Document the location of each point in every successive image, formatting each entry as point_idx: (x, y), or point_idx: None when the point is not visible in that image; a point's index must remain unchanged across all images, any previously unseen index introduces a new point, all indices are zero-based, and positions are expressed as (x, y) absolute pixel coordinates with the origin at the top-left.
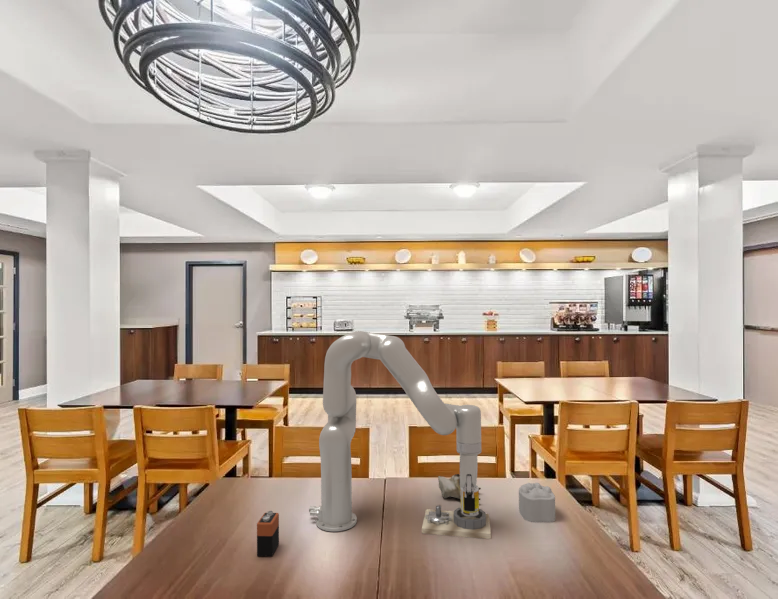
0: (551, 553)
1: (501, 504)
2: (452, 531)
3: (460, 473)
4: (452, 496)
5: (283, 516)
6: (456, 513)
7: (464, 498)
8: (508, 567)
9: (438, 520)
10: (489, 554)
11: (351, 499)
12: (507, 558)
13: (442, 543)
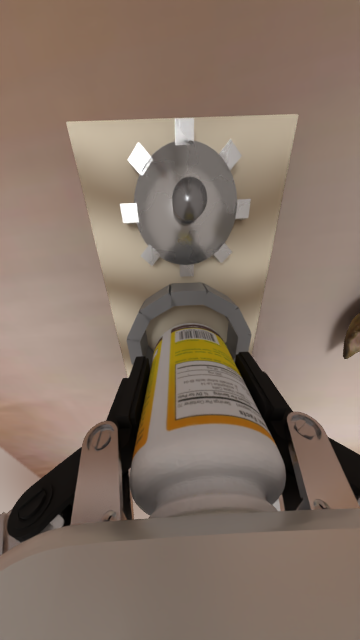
0: None
1: (321, 389)
2: (106, 283)
3: None
4: None
5: None
6: (179, 303)
7: (118, 410)
8: (29, 401)
9: (141, 216)
10: (59, 372)
11: None
12: (63, 400)
13: (47, 250)
